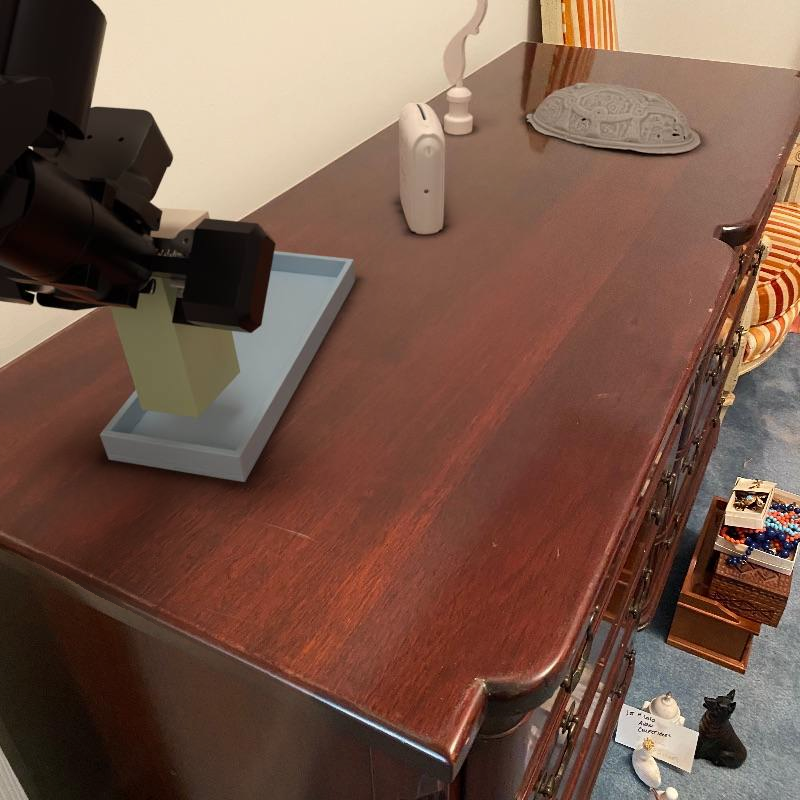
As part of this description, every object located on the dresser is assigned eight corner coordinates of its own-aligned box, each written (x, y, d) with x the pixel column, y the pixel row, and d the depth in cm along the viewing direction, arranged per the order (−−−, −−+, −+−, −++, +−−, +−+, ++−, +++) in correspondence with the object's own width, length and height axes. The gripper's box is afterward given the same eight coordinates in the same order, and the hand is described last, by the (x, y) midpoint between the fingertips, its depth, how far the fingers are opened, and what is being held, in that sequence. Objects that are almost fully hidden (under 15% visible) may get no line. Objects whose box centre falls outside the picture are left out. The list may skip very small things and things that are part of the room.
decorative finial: (436, 131, 110) (439, -71, 94) (450, 122, 112) (454, -76, 96) (473, 138, 107) (482, -68, 91) (485, 128, 110) (497, -73, 94)
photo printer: (447, 234, 85) (450, 123, 77) (409, 237, 85) (408, 126, 77) (431, 195, 93) (433, 91, 85) (397, 197, 93) (395, 93, 85)
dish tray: (244, 482, 56) (239, 457, 54) (108, 459, 58) (99, 434, 56) (355, 281, 78) (353, 259, 76) (253, 270, 80) (249, 248, 78)
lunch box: (198, 419, 54) (153, 248, 47) (139, 410, 56) (87, 243, 48) (242, 371, 59) (208, 210, 52) (187, 364, 61) (146, 206, 54)
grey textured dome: (677, 161, 98) (688, 106, 94) (506, 133, 110) (510, 83, 106) (713, 136, 108) (724, 86, 105) (554, 113, 121) (559, 67, 117)
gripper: (238, 85, 38) (324, 200, 53) (-78, 66, 42) (87, 178, 57) (199, 301, 37) (298, 355, 52) (-121, 262, 41) (58, 323, 56)
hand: (182, 296), depth 54 cm, fingers closed on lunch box, 5 cm apart
